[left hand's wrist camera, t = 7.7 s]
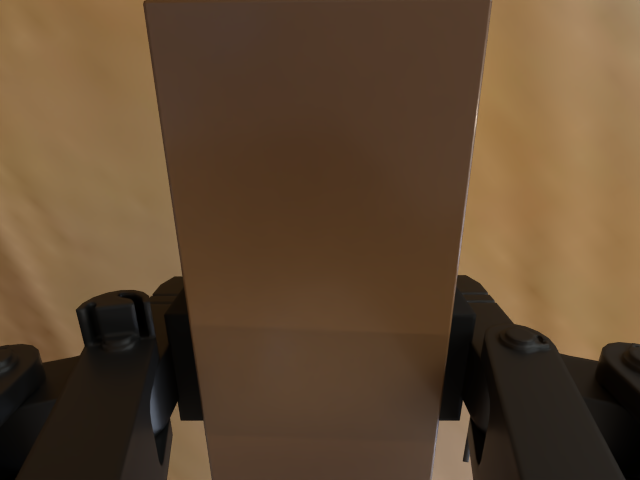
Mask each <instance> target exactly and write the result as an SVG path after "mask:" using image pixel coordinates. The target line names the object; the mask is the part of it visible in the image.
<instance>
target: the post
mask: <svg viewBox="0 0 640 480" xmlns="http://www.w3.org/2000/svg"><path fill="white" fill-rule="evenodd" d="M143 6H144V13H145V20H146V27H147V34H148V41H149V48H150V54H151V61H152V68H153V75H154V82H155V89H156V96H157V103H158V110H159V117H160V124H161V130H162V137H163V144H164V151H165V158H166V165H167V172H168V179H169V186H170V193H171V200H172V207H173V213H174V220H175V227H176V234H177V241H178V248H179V255H180V262H181V269H182V276H183V283H184V290H185V296H186V303H187V310H188V317H189V324H190V331H191V338H192V345H193V352H194V359H195V366H196V372H197V379H198V386H199V393H200V400H201V407H202V414H203V421H204V428H205V435H206V442H207V449H208V455H209V462H210V469H211V476H212V480H432V472H433V464H434V456H435V448H436V441H437V433H438V425H439V417H440V409H441V401H442V393H443V385H444V377H445V369H446V362H447V354H448V346H449V338H450V330H451V322H452V314H453V306H454V298H455V291H456V283H457V275H458V267H459V259H460V251H461V243H462V235H463V227H464V219H465V212H466V204H467V196H468V188H469V180H470V172H471V164H472V156H473V148H474V141H475V133H476V125H477V117H478V109H479V101H480V93H481V85H482V77H483V69H484V62H485V54H486V46H487V38H488V30H489V22H490V14H491V6H492V0H146V1H144V3H143Z"/></svg>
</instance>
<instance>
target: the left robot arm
mask: <svg viewBox="0 0 640 480" xmlns="http://www.w3.org/2000/svg"><path fill="white" fill-rule="evenodd" d="M76 313H77V317H78V321H79V325H80V329H81V333H82V337H83V341H84V345H85V347H84V349H83V351H82V353H81V355H80V356H76V357H71V358H66V359H61V360H55V361H50V362H45V363H42V360H41V357H40V353H39V350H38V349H37V348H35V347H34V346H33V345H25V344H17V345H5V346H0V480H167V474H168V467H169V459H170V451H171V444H172V436H173V434H172V427H171V421H170V417H171V414H172V412H173V410H174V408H175V406H176V404H177V401H178V407H179V413H180V419H181V421H203V414H202V407H201V400H200V393H199V386H198V379H197V372H196V366H195V359H194V352H193V345H192V338H191V331H190V324H189V317H188V310H187V303H186V296H185V290H184V283H183V277H173V278H171V279H170V280H168V281H166V282H164V283H163V284H161V285H160V286H159V287H158V288H157V290H156V291H155V292H154V293H153V296H151V297H150V298H149V296H148V295H147V294H145V293H144V292H141V291H136V290H120V291H114V292H108V293H105V294H102V295H99V296H96V297H93V298H91V299H90V300H88V301H86V302H84V303H82V304H81V305H80V306H79V307H78V308H77V309H76ZM463 401H464V403H465V405H466V407H467V409H468V412H469V414H470V421H469V427H468V433H467V439H466V444H465V450H464V457H463V461H464V462H468V461H469V456H470V458H471V466H472V473H473V480H640V344H635V343H622V342H617V343H610V344H607V345H606V346H605V347H603V348H602V351H601V355H600V358H599V361H595V360H589V359H584V358H579V357H573V356H568V355H564V354H560V353H559V352H558V350H557V348H556V346H555V345H554V344H553V343H552V341H551V340H550V339H549V338H548V337H546V336H544V335H543V334H541V333H540V332H538V331H536V330H533V329H531V328H528V327H526V326H521V325H516V324H514V323H513V322H512V321H511V320H510V319H509V317H508V316H507V315H506V314H505V313H504V311H503V310H502V309H501V308H500V307H499V306H498V304H497V303H495V301H494V300H493V298H492V297H491V296H490V295H488V292H487V291H486V290H485V289H484V288H483V286H482V285H481V284H480V283H478V282H477V281H475V280H473V279H472V278H470V277H468V276H466V275H457V283H456V291H455V298H454V306H453V314H452V322H451V330H450V338H449V346H448V354H447V362H446V369H445V377H444V385H443V393H442V401H441V409H440V417H439V420H452V421H460V415H461V409H462V402H463Z"/></svg>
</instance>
